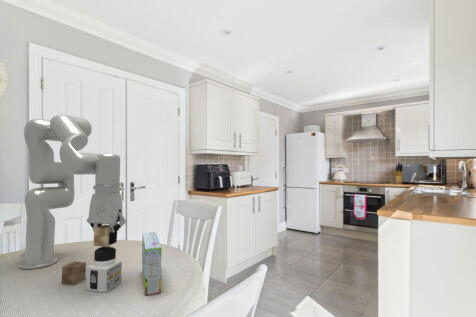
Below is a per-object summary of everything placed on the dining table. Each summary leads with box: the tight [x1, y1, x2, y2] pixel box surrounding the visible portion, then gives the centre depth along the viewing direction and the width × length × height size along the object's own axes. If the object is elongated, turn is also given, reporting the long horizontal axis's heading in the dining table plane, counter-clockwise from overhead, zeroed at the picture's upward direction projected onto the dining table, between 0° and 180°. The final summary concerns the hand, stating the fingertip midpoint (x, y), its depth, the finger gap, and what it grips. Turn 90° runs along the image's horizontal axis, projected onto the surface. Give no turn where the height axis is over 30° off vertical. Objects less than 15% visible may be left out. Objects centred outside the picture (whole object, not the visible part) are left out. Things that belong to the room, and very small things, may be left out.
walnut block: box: [61, 260, 87, 286], centre depth 90 cm, size 5×5×6 cm
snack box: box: [141, 231, 162, 297], centre depth 91 cm, size 21×6×15 cm, turn 23°
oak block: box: [93, 224, 117, 247], centre depth 87 cm, size 5×5×6 cm
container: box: [85, 245, 123, 293], centre depth 87 cm, size 8×8×13 cm
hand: (105, 242), depth 87 cm, fingers closed on oak block, 4 cm apart
